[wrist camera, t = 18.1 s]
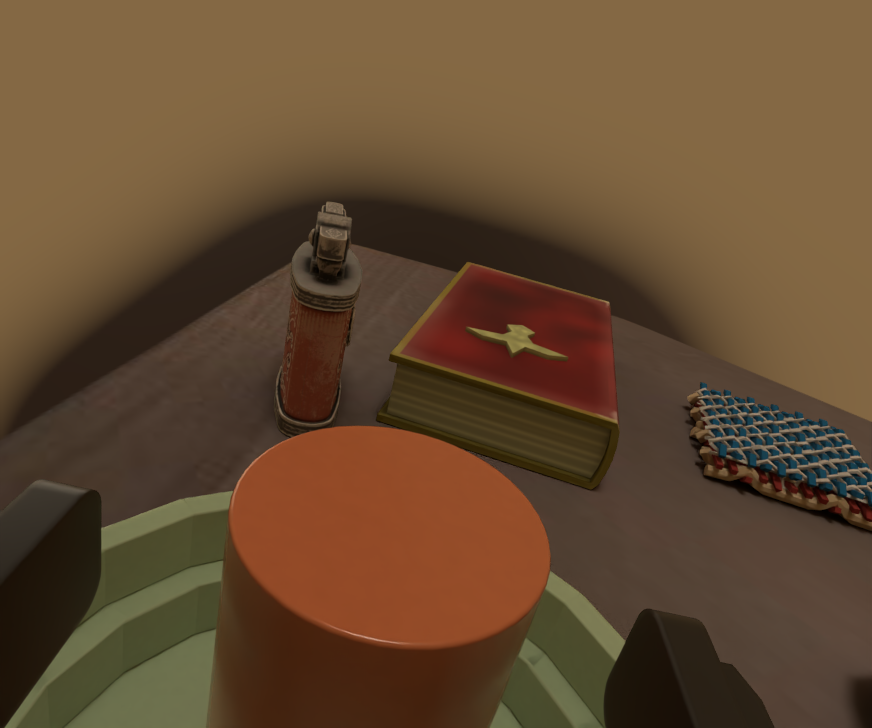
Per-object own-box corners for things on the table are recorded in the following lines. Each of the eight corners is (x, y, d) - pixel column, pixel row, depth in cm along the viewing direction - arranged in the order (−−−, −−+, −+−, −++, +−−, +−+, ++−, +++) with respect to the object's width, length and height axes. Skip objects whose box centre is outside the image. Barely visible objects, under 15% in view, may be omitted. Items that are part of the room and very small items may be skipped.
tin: (133, 908, 13) (147, 529, 9) (286, 708, 17) (343, 395, 13) (352, 1078, 11) (493, 721, 7) (456, 811, 16) (580, 497, 12)
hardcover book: (597, 348, 50) (615, 300, 49) (599, 492, 31) (628, 421, 30) (456, 306, 52) (468, 258, 50) (376, 420, 33) (391, 348, 31)
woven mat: (697, 479, 35) (712, 449, 34) (680, 401, 44) (692, 376, 44) (894, 545, 33) (915, 515, 32) (833, 449, 43) (848, 424, 42)
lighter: (338, 443, 30) (376, 244, 26) (267, 435, 30) (293, 229, 25) (338, 367, 37) (367, 202, 33) (280, 360, 37) (303, 189, 32)
